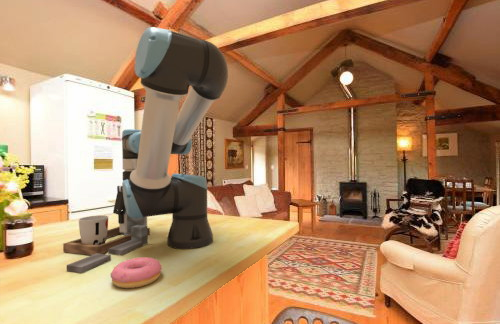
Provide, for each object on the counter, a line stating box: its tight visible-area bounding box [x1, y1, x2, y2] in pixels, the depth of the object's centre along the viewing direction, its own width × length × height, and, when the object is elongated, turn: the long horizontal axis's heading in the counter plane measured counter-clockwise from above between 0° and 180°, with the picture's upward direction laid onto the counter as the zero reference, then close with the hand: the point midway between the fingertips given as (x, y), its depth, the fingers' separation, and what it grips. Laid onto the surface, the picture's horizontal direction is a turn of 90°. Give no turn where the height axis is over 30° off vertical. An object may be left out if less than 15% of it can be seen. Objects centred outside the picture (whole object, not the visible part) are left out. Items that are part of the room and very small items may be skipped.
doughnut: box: [110, 256, 163, 289], centre depth 62 cm, size 11×11×4 cm
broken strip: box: [66, 225, 149, 274], centre depth 78 cm, size 5×25×6 cm, turn 162°
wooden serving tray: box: [62, 212, 151, 256], centre depth 91 cm, size 13×25×12 cm, turn 162°
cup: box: [78, 214, 109, 245], centre depth 84 cm, size 8×8×10 cm
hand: (134, 228), depth 101 cm, fingers open, 10 cm apart
